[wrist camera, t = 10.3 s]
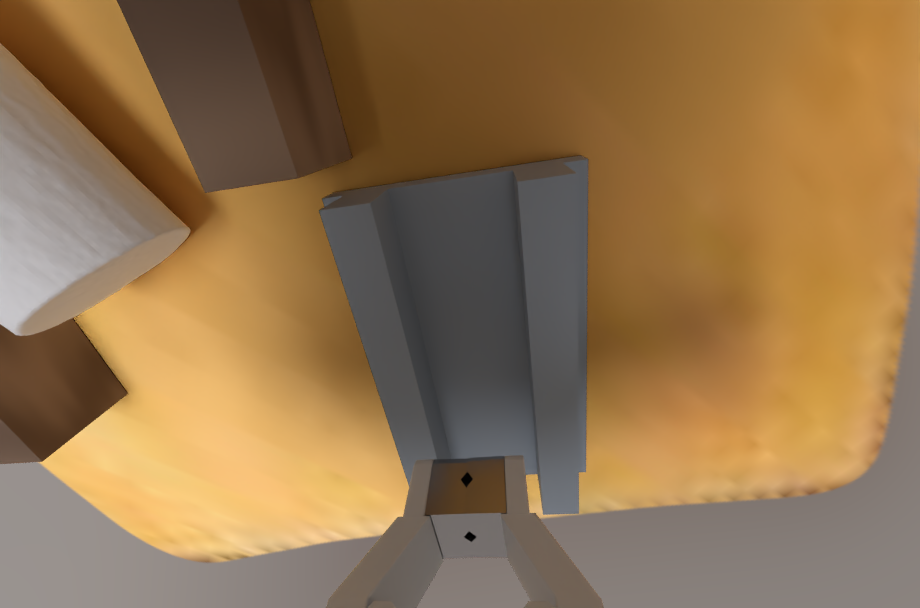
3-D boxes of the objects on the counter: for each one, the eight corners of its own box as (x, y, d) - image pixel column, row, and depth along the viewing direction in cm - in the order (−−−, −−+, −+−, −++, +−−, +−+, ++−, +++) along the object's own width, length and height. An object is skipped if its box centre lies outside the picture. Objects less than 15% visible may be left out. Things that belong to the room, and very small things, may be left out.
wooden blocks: (-268, -39, 11) (-626, -108, 7) (256, -197, 9) (100, -404, 5) (84, 397, 19) (-9, 464, 15) (408, 370, 16) (387, 441, 13)
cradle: (333, 192, 13) (293, 214, 10) (580, 155, 12) (607, 168, 9) (414, 462, 19) (403, 518, 17) (581, 454, 18) (597, 512, 16)
